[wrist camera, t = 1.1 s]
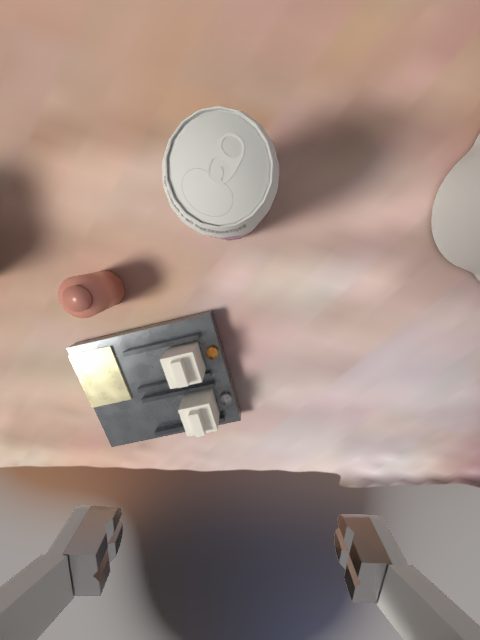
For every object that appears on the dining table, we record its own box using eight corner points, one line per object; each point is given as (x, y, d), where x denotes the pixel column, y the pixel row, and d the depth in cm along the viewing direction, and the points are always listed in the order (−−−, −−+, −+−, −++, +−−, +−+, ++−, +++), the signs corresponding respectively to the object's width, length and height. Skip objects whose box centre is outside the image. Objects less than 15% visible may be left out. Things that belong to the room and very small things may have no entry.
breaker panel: (211, 310, 35) (209, 316, 32) (240, 411, 39) (240, 425, 36) (75, 342, 36) (61, 351, 34) (117, 437, 41) (108, 452, 38)
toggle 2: (212, 388, 36) (207, 408, 31) (219, 412, 37) (216, 436, 32) (183, 394, 36) (175, 415, 32) (192, 418, 37) (185, 442, 33)
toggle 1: (197, 340, 34) (190, 355, 29) (206, 368, 35) (200, 386, 30) (167, 347, 34) (156, 363, 30) (177, 374, 35) (167, 393, 31)
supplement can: (240, 253, 33) (240, 260, 19) (182, 215, 32) (133, 192, 17) (277, 192, 31) (308, 147, 17) (216, 150, 30) (193, 63, 15)
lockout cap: (117, 267, 34) (87, 272, 27) (129, 301, 35) (104, 314, 28) (83, 275, 34) (45, 283, 27) (97, 309, 35) (64, 324, 29)
